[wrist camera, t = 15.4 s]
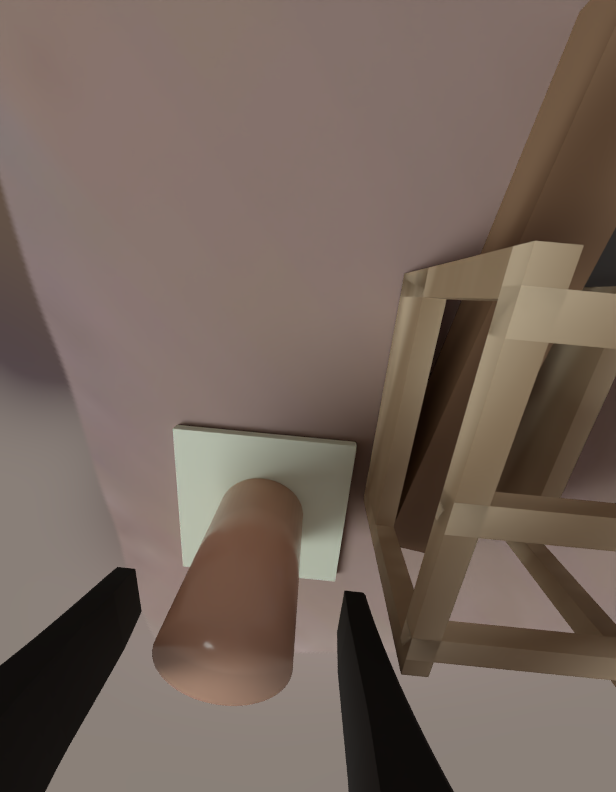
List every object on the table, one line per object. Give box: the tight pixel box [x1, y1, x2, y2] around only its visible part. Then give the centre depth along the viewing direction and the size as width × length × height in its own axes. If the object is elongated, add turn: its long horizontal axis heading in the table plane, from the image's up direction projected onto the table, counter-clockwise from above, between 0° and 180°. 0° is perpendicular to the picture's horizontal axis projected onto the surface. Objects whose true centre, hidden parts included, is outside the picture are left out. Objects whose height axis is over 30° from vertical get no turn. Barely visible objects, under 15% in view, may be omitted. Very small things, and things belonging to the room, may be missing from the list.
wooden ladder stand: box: [364, 241, 616, 687], centre depth 9 cm, size 6×10×7 cm, turn 175°
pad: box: [173, 425, 357, 581], centre depth 14 cm, size 8×8×1 cm
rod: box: [394, 0, 616, 553], centre depth 10 cm, size 2×18×2 cm, turn 166°
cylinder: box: [152, 478, 303, 706], centre depth 11 cm, size 4×4×6 cm
